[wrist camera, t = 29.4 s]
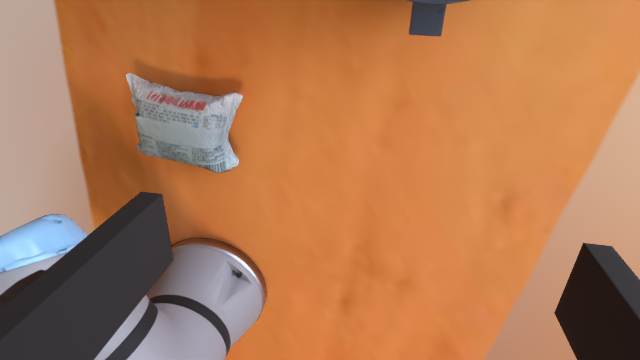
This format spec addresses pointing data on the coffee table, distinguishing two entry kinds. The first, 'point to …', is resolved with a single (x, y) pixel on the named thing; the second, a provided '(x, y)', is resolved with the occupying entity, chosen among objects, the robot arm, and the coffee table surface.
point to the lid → (437, 1)
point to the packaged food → (184, 124)
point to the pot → (427, 19)
